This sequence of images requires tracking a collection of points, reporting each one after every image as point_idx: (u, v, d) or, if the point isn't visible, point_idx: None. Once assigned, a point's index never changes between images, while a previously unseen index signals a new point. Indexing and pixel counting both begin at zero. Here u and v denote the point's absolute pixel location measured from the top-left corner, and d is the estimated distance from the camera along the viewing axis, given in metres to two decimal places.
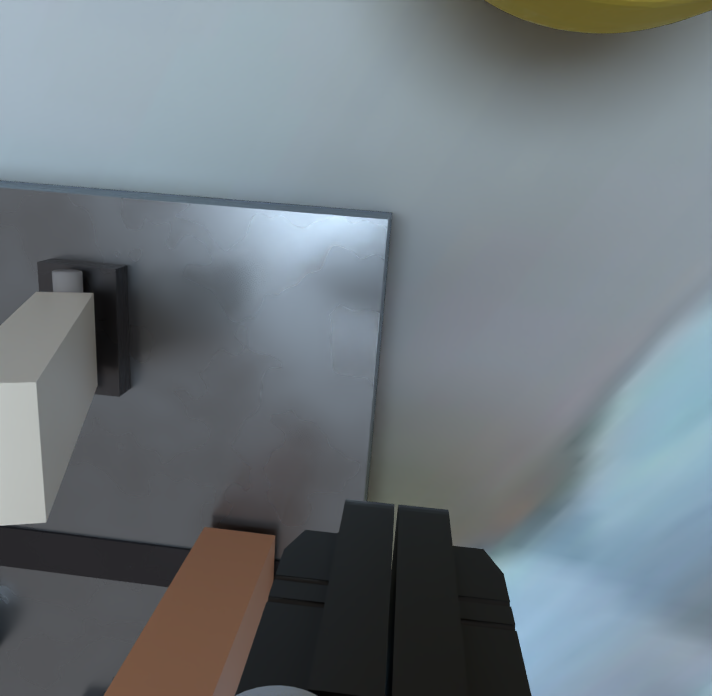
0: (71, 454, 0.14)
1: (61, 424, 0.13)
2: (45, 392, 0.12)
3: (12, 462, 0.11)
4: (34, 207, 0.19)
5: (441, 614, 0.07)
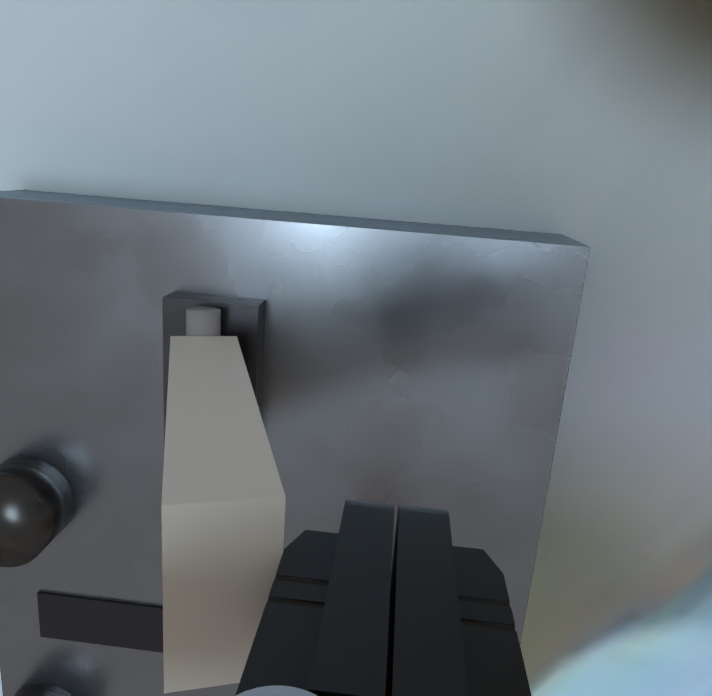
0: None
1: None
2: None
3: (243, 604, 0.08)
4: (156, 231, 0.16)
5: (441, 614, 0.07)
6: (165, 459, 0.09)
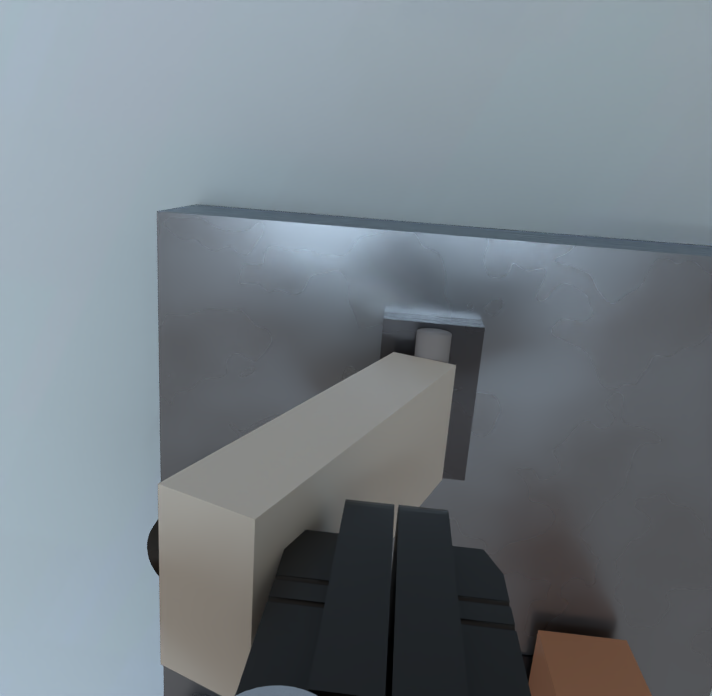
0: None
1: None
2: (284, 526, 0.08)
3: (220, 614, 0.08)
4: (371, 250, 0.15)
5: (441, 614, 0.07)
6: (220, 449, 0.09)
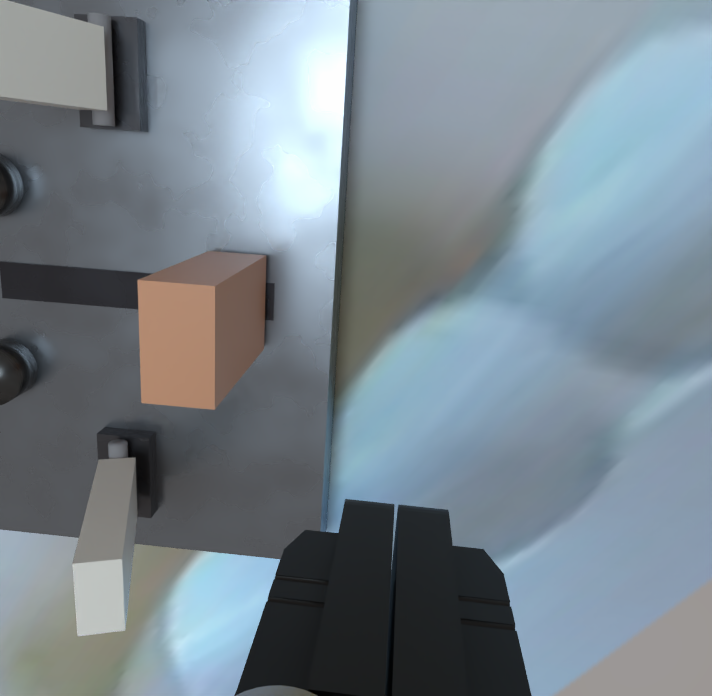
0: None
1: None
2: None
3: None
4: None
5: (441, 614, 0.07)
6: None
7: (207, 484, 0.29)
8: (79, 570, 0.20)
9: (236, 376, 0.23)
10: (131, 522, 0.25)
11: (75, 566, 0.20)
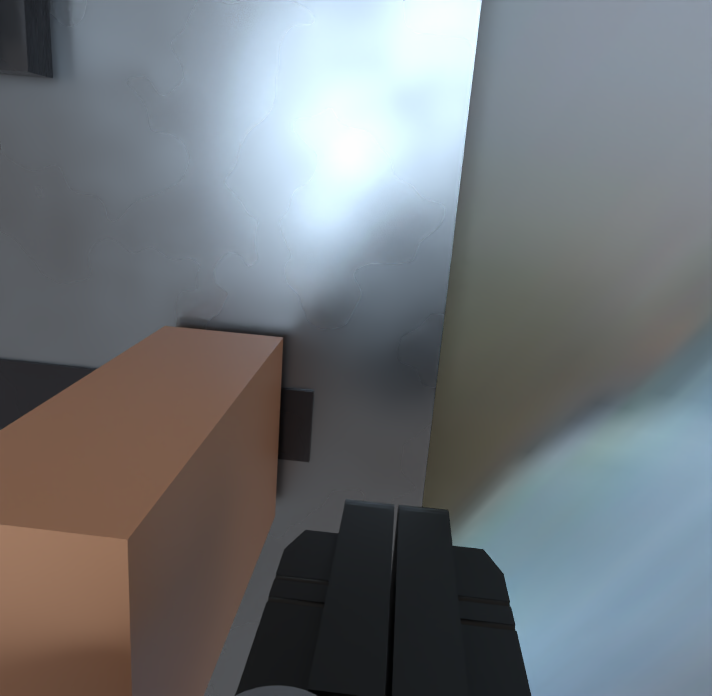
0: None
1: None
2: None
3: None
4: None
5: (441, 614, 0.07)
6: None
7: None
8: None
9: (211, 661, 0.09)
10: None
11: None
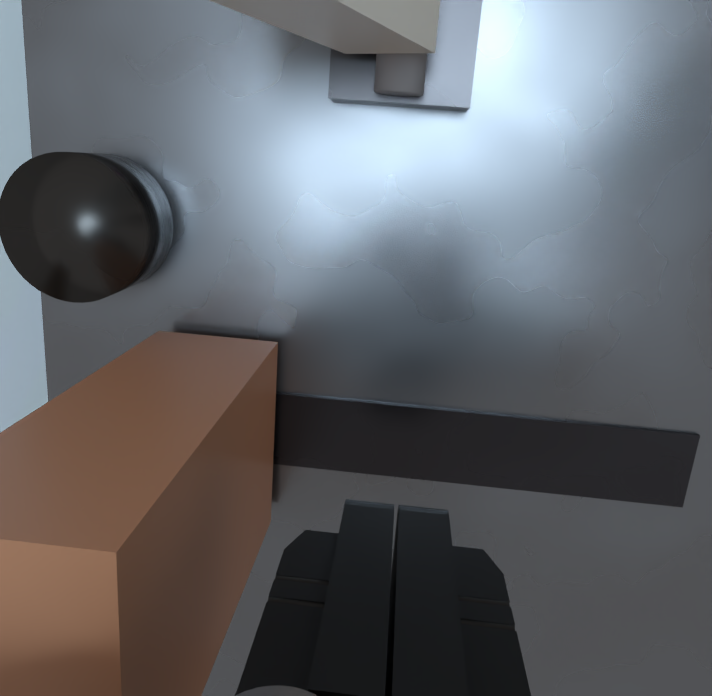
0: None
1: None
2: None
3: None
4: None
5: (441, 614, 0.07)
6: None
7: None
8: None
9: (205, 670, 0.09)
10: None
11: None
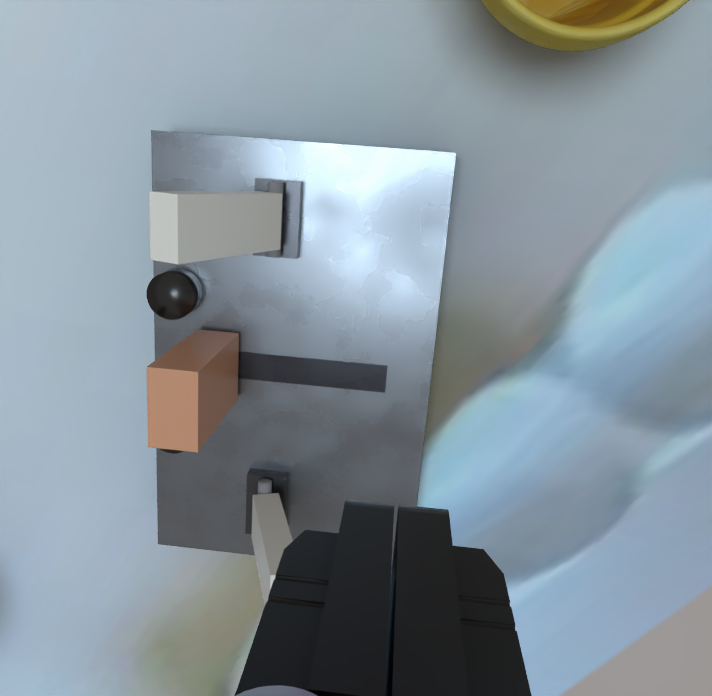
0: (222, 257, 0.28)
1: (209, 233, 0.27)
2: (189, 205, 0.26)
3: (168, 232, 0.26)
4: (251, 147, 0.33)
5: (441, 614, 0.07)
6: (170, 191, 0.27)
7: (326, 512, 0.39)
8: None
9: (214, 425, 0.32)
10: None
11: (271, 577, 0.30)
